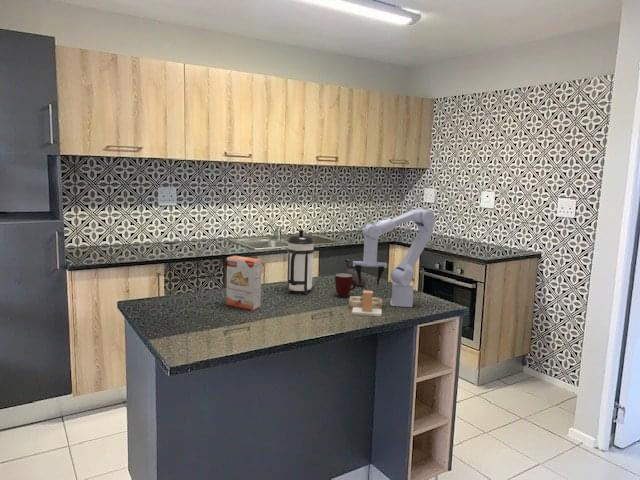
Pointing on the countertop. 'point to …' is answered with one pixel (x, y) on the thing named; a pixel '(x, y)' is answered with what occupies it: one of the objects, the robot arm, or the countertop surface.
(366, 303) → the plug
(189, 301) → the countertop surface
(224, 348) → the countertop surface
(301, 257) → the coffee press
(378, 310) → the mat
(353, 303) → the beige holed block
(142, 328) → the countertop surface
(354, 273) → the perforated stone tool
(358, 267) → the robot arm
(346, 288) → the mug
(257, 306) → the cracker box
